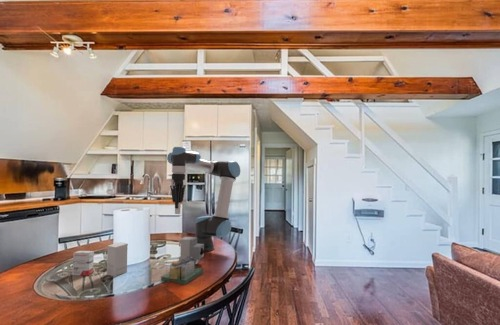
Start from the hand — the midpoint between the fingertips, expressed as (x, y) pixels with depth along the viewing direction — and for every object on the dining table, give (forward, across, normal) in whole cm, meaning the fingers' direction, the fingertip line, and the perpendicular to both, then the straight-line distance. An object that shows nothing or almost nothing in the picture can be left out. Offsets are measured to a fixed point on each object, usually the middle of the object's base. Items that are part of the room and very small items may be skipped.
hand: (177, 213), depth 167 cm
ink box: (+31, +28, -39) cm, 57 cm away
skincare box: (+31, +21, -23) cm, 44 cm away
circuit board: (+30, +12, +12) cm, 35 cm away
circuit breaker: (+31, -8, +6) cm, 32 cm away
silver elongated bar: (+23, +12, +12) cm, 29 cm away
